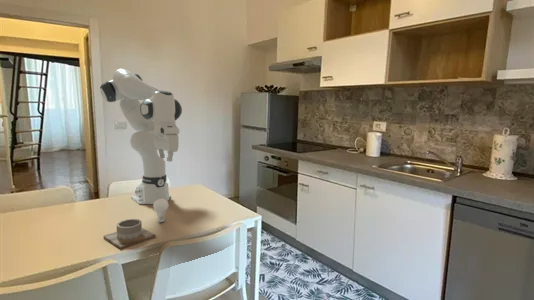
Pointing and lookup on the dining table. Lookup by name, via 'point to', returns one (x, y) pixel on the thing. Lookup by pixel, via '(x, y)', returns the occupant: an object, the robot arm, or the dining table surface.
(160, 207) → the lightbulb
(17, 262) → the dining table surface
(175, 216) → the dining table surface
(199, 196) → the dining table surface
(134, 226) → the socket base
